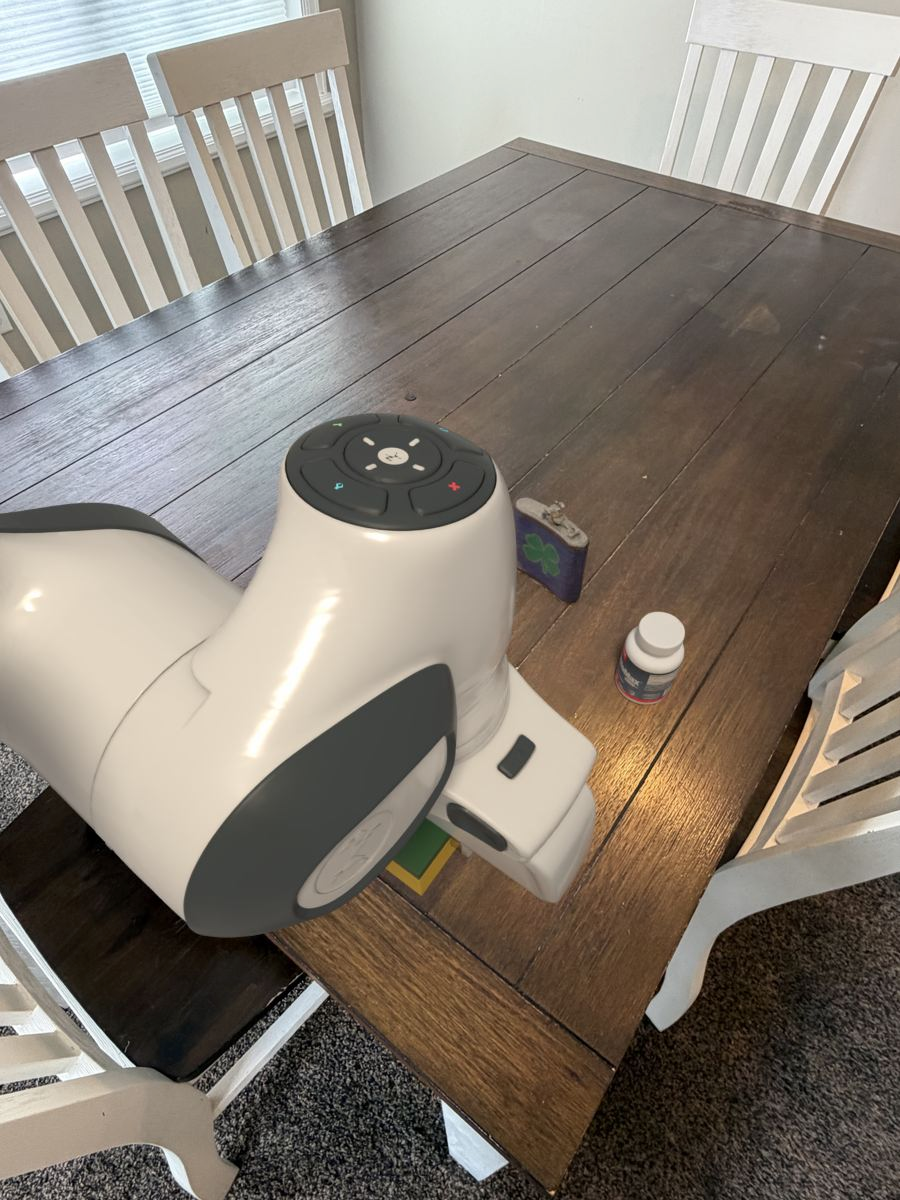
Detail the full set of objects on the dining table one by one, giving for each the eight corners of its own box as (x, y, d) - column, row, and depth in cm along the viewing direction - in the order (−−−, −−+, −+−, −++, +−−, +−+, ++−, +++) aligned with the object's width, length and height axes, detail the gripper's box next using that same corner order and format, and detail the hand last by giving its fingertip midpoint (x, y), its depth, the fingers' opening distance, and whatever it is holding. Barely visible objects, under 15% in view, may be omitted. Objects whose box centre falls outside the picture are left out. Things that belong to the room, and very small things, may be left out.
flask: (504, 562, 80) (510, 490, 72) (522, 548, 82) (530, 476, 73) (569, 609, 76) (583, 539, 68) (587, 594, 77) (603, 523, 69)
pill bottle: (606, 666, 72) (621, 611, 65) (655, 655, 73) (676, 599, 66) (627, 711, 69) (645, 659, 62) (678, 700, 69) (702, 646, 62)
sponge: (421, 896, 45) (418, 875, 42) (360, 849, 47) (352, 826, 44) (493, 796, 49) (495, 770, 46) (434, 757, 51) (432, 729, 48)
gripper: (223, 645, 38) (276, 763, 49) (559, 878, 31) (534, 956, 42) (306, 571, 42) (338, 697, 52) (629, 766, 34) (588, 865, 45)
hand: (427, 813), depth 47 cm, fingers closed on sponge, 5 cm apart
